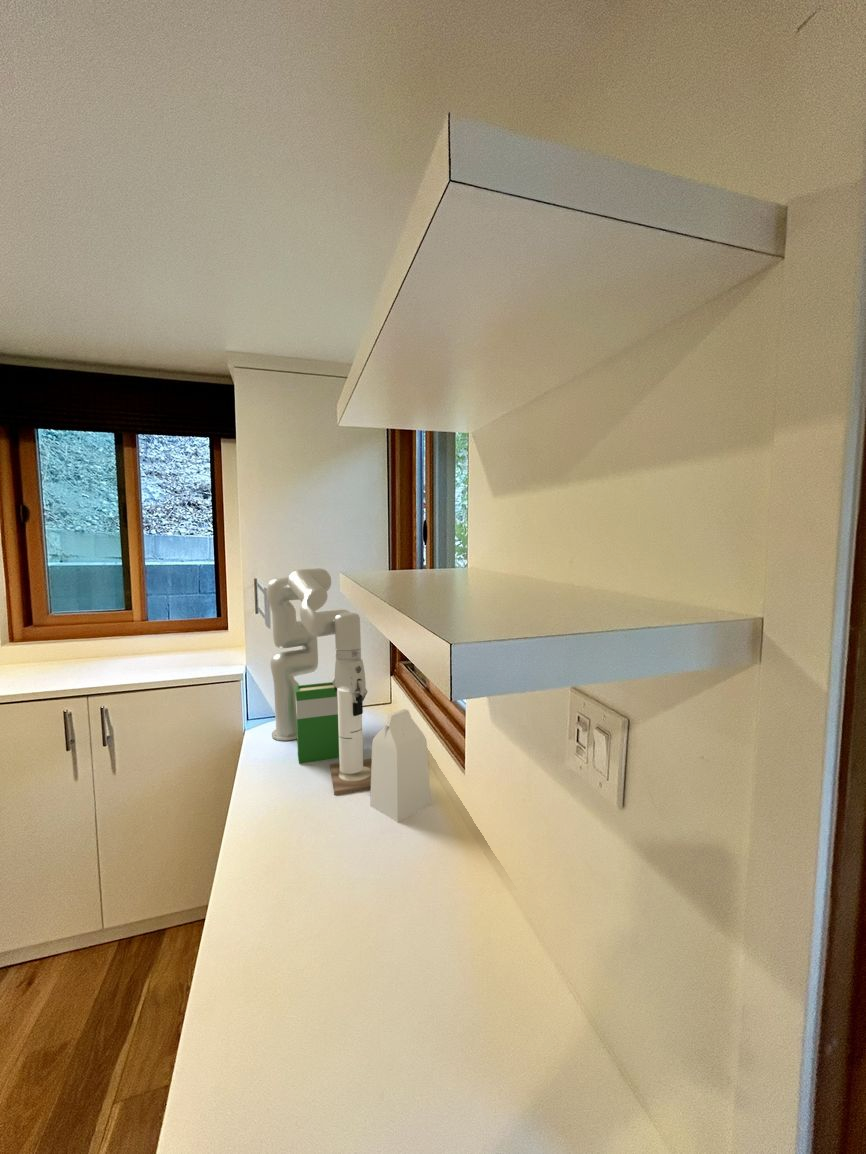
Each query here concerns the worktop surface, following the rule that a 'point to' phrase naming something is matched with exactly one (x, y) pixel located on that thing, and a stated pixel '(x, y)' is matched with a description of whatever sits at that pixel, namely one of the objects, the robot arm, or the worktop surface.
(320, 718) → the hardback book
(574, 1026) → the worktop surface
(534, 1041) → the worktop surface
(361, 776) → the walnut board
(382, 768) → the milk
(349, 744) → the cylindrical container
